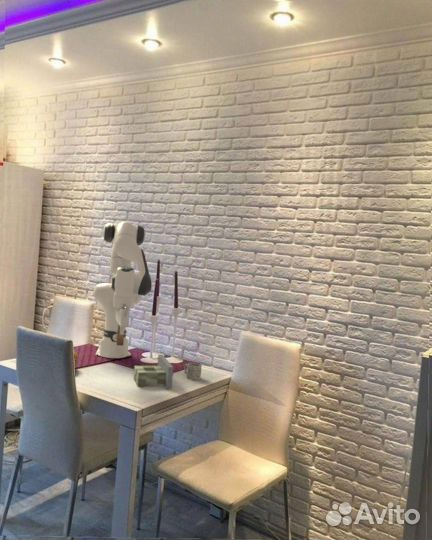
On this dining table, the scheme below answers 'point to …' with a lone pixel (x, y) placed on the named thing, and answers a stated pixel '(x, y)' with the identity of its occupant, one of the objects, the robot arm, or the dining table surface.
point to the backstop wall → (166, 371)
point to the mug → (193, 371)
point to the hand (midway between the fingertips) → (120, 333)
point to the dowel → (120, 337)
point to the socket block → (149, 376)
